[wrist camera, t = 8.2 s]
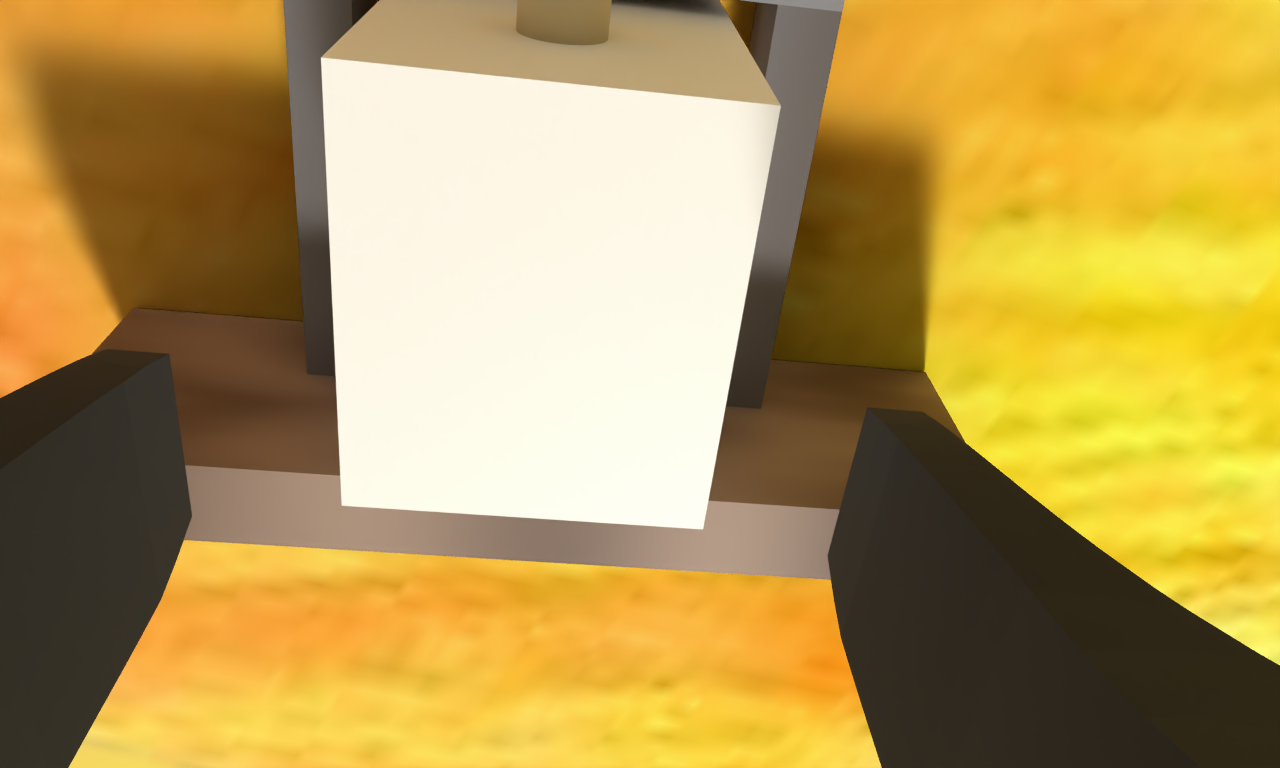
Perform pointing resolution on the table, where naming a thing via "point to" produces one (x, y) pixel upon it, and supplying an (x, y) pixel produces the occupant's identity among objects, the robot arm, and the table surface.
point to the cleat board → (314, 517)
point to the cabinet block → (540, 252)
